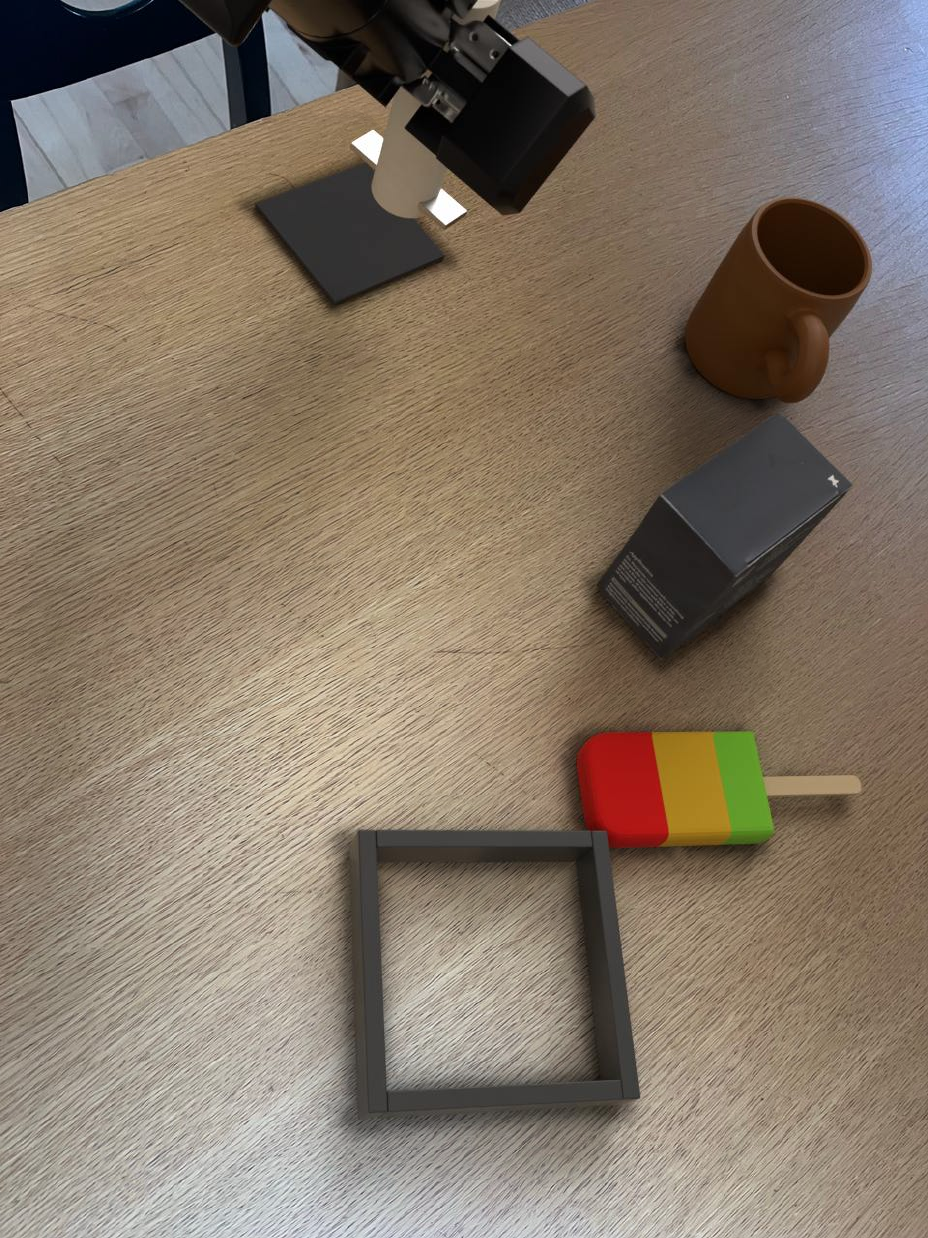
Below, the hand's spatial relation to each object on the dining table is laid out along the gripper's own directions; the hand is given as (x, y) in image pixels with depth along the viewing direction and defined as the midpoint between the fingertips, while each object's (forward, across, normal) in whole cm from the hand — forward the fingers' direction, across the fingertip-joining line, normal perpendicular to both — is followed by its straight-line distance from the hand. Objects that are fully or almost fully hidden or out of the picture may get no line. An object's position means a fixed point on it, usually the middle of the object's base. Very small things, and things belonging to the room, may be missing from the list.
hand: (449, 84), depth 63 cm
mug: (+16, -19, +2) cm, 25 cm away
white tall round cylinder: (+4, 0, +6) cm, 7 cm away
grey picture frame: (-10, -31, +28) cm, 43 cm away
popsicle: (0, -34, +18) cm, 38 cm away
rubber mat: (+8, +3, +10) cm, 13 cm away
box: (+6, -25, +12) cm, 28 cm away
